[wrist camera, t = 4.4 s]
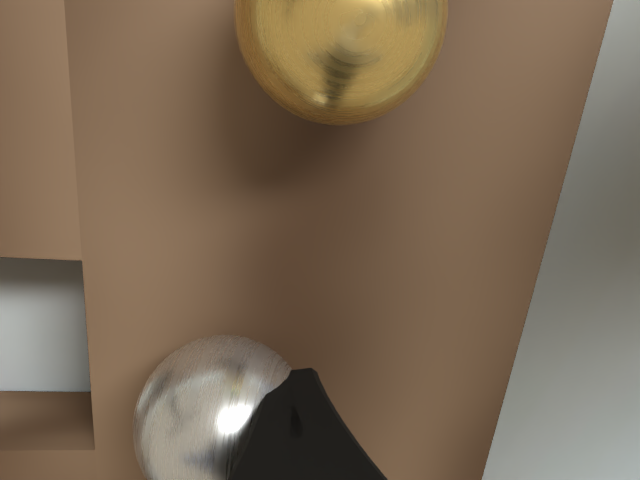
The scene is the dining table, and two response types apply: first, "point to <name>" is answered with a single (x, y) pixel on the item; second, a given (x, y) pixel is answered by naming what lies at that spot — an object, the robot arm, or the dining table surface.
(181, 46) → the walnut board
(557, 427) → the dining table surface
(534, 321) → the dining table surface
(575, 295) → the dining table surface
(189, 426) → the steel ball
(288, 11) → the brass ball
